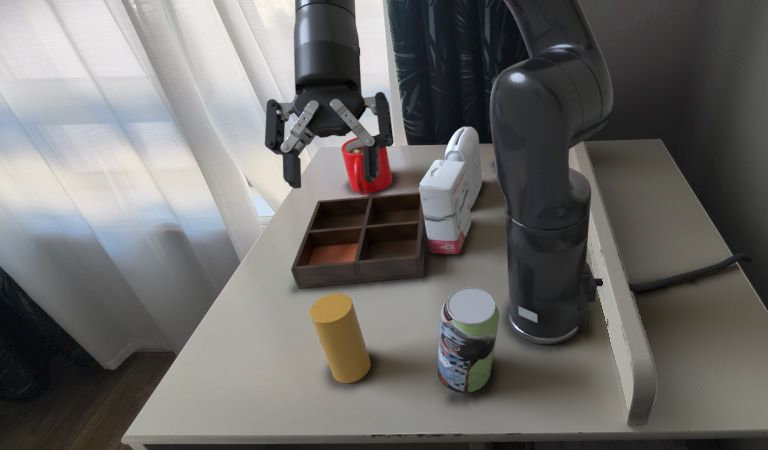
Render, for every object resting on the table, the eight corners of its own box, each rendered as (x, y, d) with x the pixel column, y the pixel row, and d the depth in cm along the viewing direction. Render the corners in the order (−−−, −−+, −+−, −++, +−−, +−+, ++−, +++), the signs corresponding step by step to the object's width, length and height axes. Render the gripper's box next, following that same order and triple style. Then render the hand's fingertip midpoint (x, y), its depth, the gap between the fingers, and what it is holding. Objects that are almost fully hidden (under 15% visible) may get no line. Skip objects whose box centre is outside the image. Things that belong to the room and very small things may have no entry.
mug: (343, 206, 87) (332, 167, 82) (353, 173, 97) (344, 137, 92) (388, 203, 87) (380, 164, 83) (394, 170, 97) (387, 133, 92)
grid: (426, 209, 85) (424, 191, 83) (423, 277, 71) (419, 257, 68) (323, 218, 84) (317, 200, 82) (297, 288, 70) (290, 269, 68)
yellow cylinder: (372, 351, 60) (355, 291, 54) (368, 381, 56) (348, 320, 50) (336, 354, 60) (314, 294, 54) (329, 385, 56) (305, 324, 50)
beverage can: (442, 354, 59) (430, 280, 52) (503, 354, 59) (499, 279, 52) (435, 400, 54) (420, 324, 47) (502, 400, 53) (497, 323, 46)
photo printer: (462, 181, 92) (456, 119, 85) (484, 182, 92) (480, 120, 84) (447, 211, 84) (439, 146, 77) (471, 213, 83) (465, 147, 76)
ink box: (458, 256, 74) (450, 189, 67) (427, 253, 75) (416, 186, 68) (472, 223, 81) (466, 159, 74) (444, 221, 82) (435, 157, 75)
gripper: (253, 41, 55) (255, 181, 53) (380, 33, 56) (388, 170, 53) (280, 73, 63) (282, 196, 60) (392, 65, 63) (399, 187, 61)
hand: (332, 184), depth 57 cm, fingers open, 8 cm apart
